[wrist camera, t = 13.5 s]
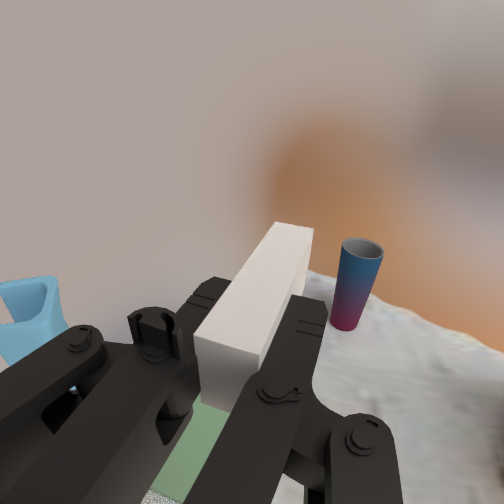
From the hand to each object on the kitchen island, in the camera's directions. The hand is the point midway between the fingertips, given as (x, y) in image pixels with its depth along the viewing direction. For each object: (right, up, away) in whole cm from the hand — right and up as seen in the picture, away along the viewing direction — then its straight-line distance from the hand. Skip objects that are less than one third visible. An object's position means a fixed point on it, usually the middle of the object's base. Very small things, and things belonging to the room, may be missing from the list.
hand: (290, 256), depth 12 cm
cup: (+15, -12, +41) cm, 46 cm away
